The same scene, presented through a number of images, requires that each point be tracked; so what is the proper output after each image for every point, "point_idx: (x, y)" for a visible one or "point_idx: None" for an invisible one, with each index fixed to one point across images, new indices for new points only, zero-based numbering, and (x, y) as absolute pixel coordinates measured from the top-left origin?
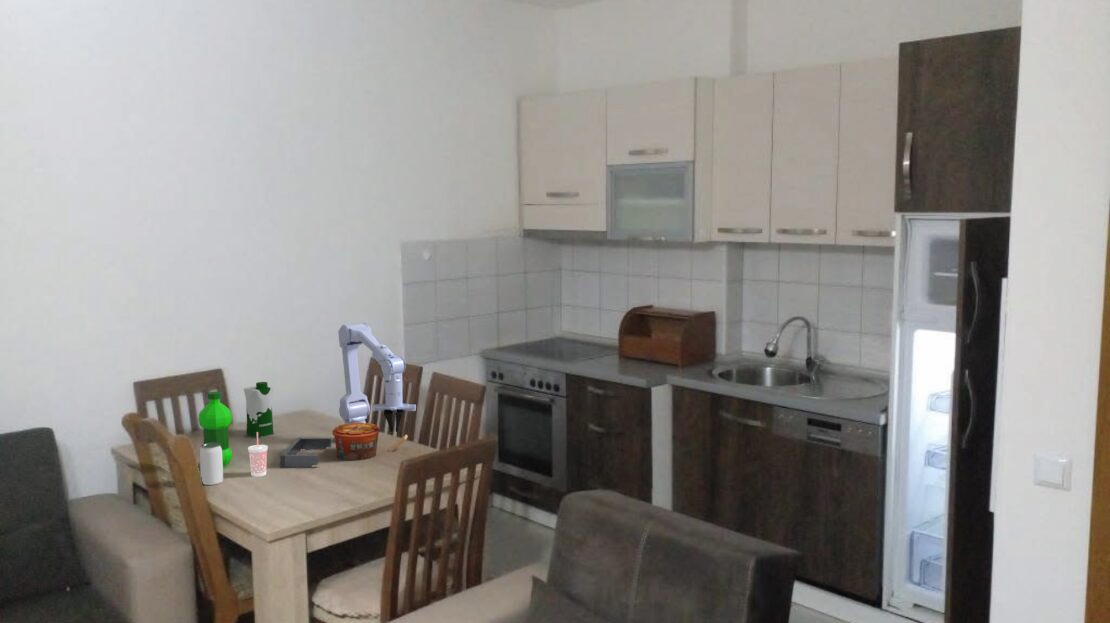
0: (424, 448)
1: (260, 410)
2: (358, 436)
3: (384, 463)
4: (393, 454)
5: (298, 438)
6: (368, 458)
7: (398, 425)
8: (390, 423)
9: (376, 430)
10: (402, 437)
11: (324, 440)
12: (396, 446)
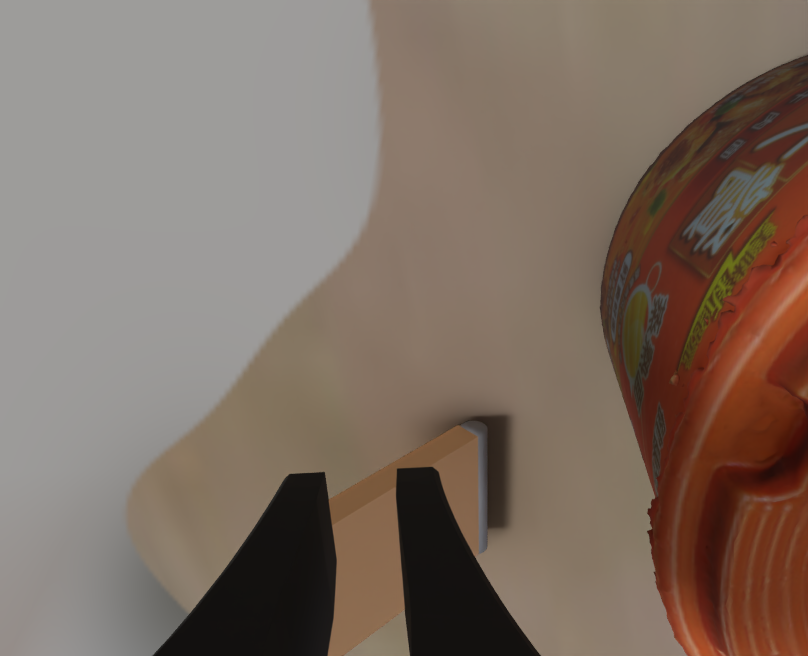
0: (170, 585)
1: None
2: None
3: (459, 69)
4: (420, 409)
5: None
6: (687, 138)
7: (227, 567)
8: (432, 592)
9: (735, 468)
10: (349, 637)
11: None
12: (389, 473)
